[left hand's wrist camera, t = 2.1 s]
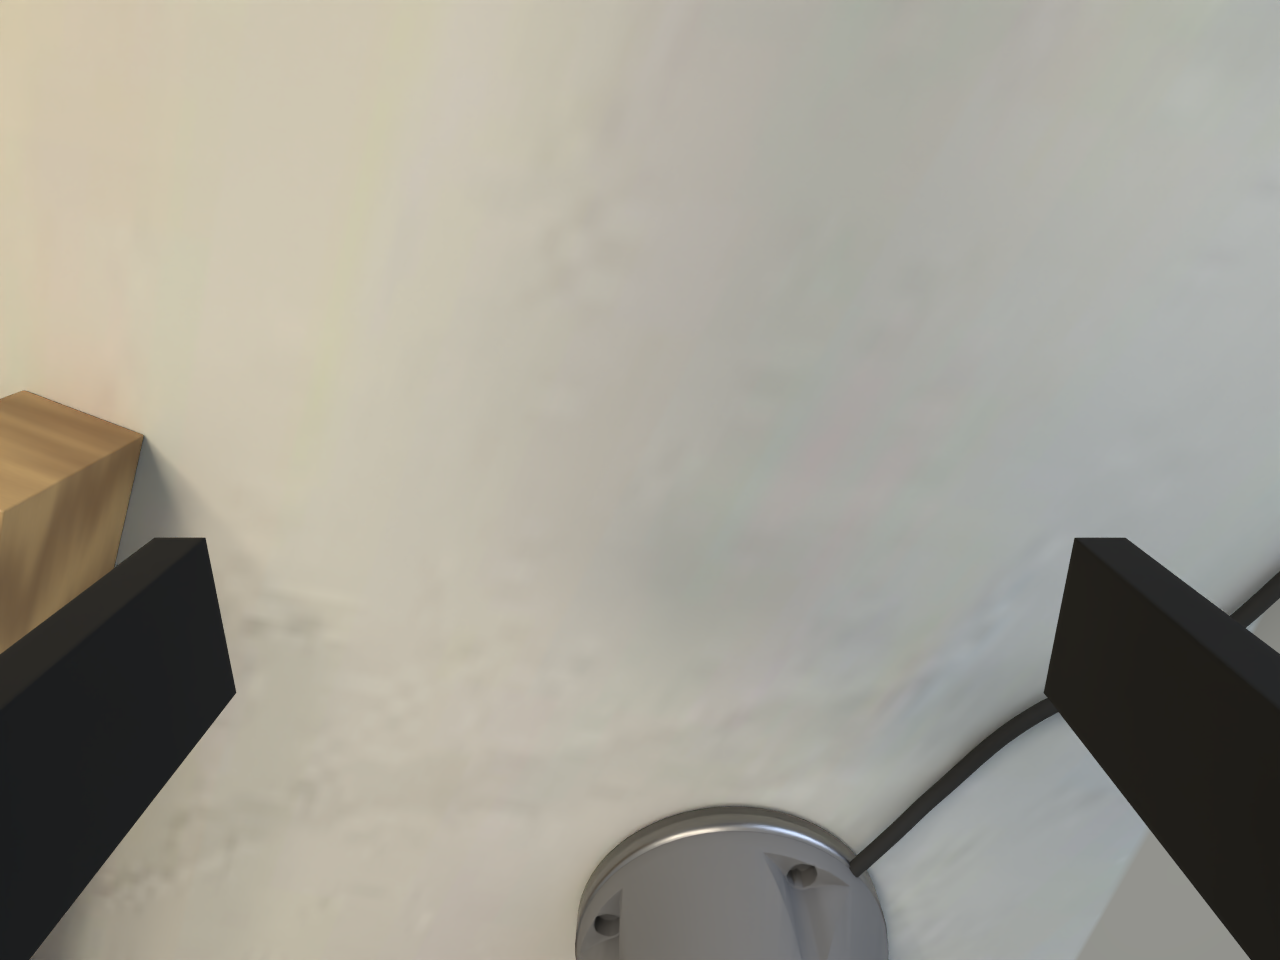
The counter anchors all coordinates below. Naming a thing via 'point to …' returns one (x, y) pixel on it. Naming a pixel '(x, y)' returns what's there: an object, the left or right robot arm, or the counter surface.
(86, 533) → the post
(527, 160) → the counter surface
